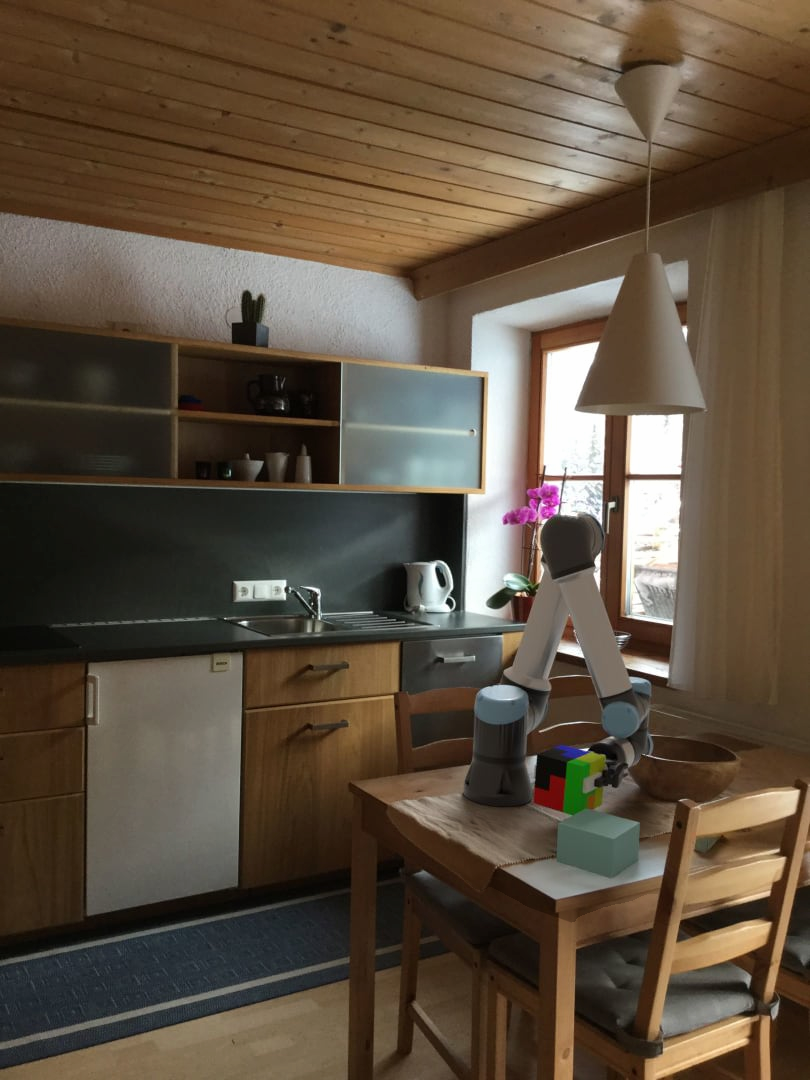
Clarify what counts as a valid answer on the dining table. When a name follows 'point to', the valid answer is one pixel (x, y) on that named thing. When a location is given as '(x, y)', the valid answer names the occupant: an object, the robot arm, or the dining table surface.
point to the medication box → (705, 843)
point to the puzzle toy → (567, 779)
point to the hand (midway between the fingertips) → (559, 779)
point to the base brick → (598, 842)
